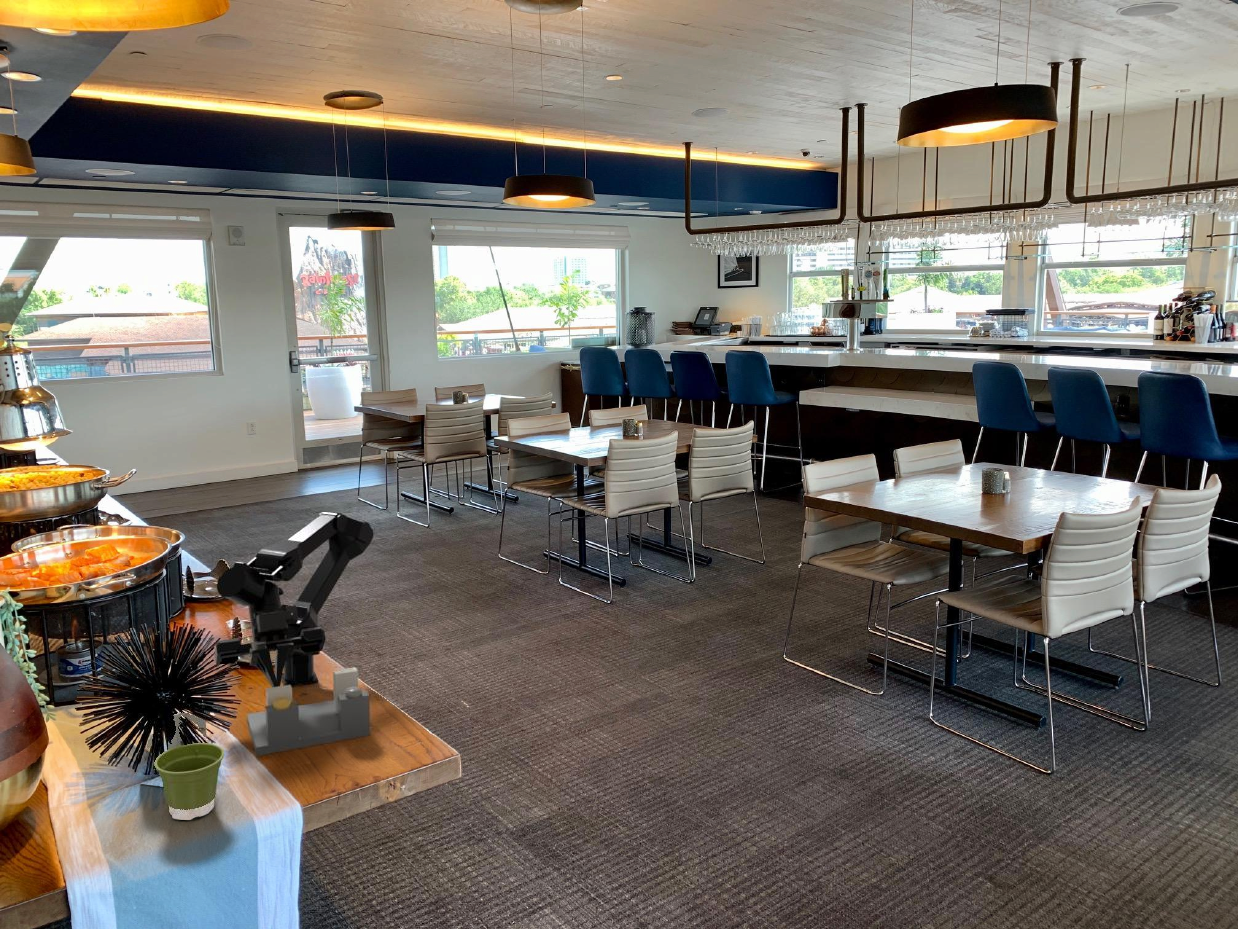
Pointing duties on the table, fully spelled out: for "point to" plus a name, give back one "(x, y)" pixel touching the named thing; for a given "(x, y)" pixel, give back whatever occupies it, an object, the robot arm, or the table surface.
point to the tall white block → (278, 693)
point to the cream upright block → (343, 682)
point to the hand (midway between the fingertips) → (277, 689)
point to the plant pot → (190, 774)
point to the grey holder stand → (309, 722)
